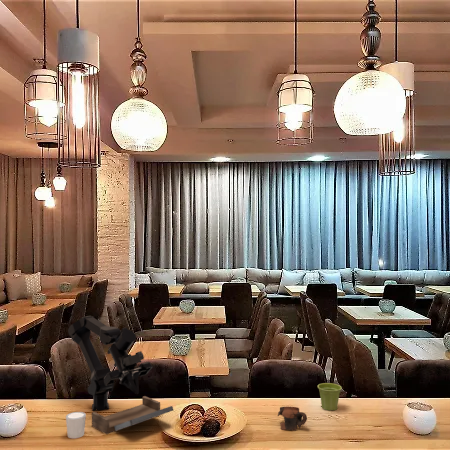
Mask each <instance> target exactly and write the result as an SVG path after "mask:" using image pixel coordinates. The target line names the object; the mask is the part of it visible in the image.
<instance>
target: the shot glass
mask: <svg viewBox="0 0 450 450" xmlns="http://www.w3.org/2000/svg"><path fill="white" fill-rule="evenodd" d="M86 415H87V414H86V412H83V411H74V412H70V413H68V414H66V416H65V425H66V432H67V434H66V435H67V437H68V438H69V439H79V438H81V437H83V436H84V435H85V430H86V429H85V428H86V420H87V419H86Z"/></svg>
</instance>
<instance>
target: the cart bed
mask: <svg viewBox="0 0 450 450" xmlns="http://www.w3.org/2000/svg"><path fill="white" fill-rule="evenodd" d="M141 400H142V401H141V402H142V403H141V404H139V405H135V406H133V407H130V408H126V409H123V410H121V411H117V412H114V413H111V414H108V415H106V416H104V415H102V414H99V413H98V412H96V411H92V412H91V427H93V428H95V429H96V430H98V431H100V432H102V433H103V434H105V435H108V434H111V433H114V432H116V431H115V427H114V426H117V425H119V424H122V423H125V422H127V421H130V420H132V419H135V418H138V417H141V416H144V415H147V414H150V413H153V412H155V411H158V410H161V402H160V401H158V400H156V399H152V398H151V397H148V396H146V395H144V396H142V399H141ZM156 417H158V416H156ZM156 417H153V418H156ZM153 418H152V419H153ZM140 423H141V422H139V423H138V424H140ZM125 428H127V427H125ZM125 428H122V429H125ZM122 429H121V430H122Z"/></svg>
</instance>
